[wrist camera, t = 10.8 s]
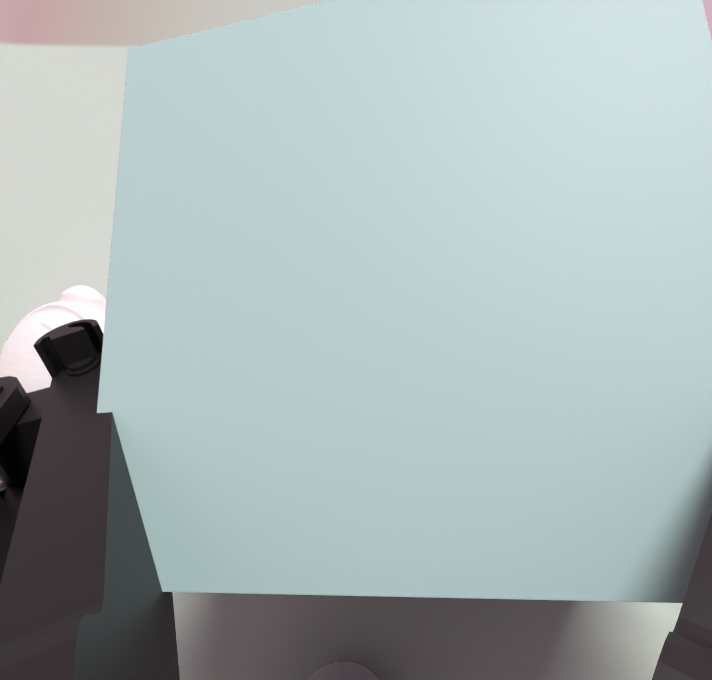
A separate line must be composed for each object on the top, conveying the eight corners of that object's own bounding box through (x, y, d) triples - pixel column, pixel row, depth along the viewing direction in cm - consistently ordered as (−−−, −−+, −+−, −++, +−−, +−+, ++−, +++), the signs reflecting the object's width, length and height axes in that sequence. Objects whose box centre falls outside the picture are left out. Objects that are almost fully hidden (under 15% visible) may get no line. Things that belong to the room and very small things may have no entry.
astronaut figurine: (203, 530, 22) (158, 539, 19) (-11, 436, 25) (-76, 431, 23) (276, 325, 23) (245, 303, 20) (62, 263, 27) (10, 238, 24)
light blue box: (311, 525, 19) (81, 589, 8) (308, 255, 21) (128, 49, 11) (625, 522, 16) (839, 606, 6) (582, 220, 19) (682, -86, 9)
